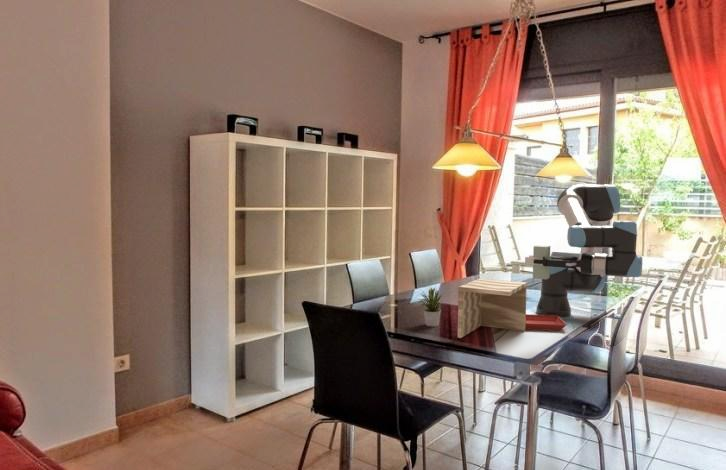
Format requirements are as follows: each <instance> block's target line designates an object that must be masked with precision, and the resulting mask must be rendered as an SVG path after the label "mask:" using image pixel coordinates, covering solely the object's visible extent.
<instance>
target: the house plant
mask: <svg viewBox="0 0 726 470" xmlns="http://www.w3.org/2000/svg"><path fill="white" fill-rule="evenodd" d="M418 295H420V296H423V299H419V298H418V300H420V301H418V303H421V307H423V306H424V307H425V309H423V313H424V314H423V315H424V321H425V322H424V323H425V326H427V327H438V326H439V322H440V317H441V309H439V308H440V307H443V305H441V302H443V300H441V301H440V299H441V297H442V296H444V293H442V294H441V295H439V290H437V289H436V287H434V288H432V287H431V286H430V288H429V289H428V296H427V295H426V293H425V291H423V290H422V289H420V293H419V294H418ZM418 303H417V304H418Z"/></svg>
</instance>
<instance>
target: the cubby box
mask: <svg viewBox="0 0 726 470" xmlns="http://www.w3.org/2000/svg"><path fill="white" fill-rule="evenodd" d="M527 283H528V282H525V281H512V280H500V279H491V278H490V279H488V278H478V279H475V280H472V281H470V282H467V283H465V284H463V285H459V286H458V291H457V292H458V293H457V296H458V298H457V303H458V304H457V338H459V339H462V338H464V337H465V336H467V335H468V334H470V333H471V332H473V331H475V330H476V329H478V328H480V327H489V328H495V329H496V328H497V329H503V330H511V331H519V332H526V330H527V329H526V314H527Z"/></svg>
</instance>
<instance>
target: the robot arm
mask: <svg viewBox="0 0 726 470" xmlns="http://www.w3.org/2000/svg"><path fill="white" fill-rule="evenodd" d="M556 206H557V209H558V211H559V213H560V214H562V215H563V216H564V218H565V220H566V223H567V226H568V229H567V235H566V237H567V238H566V239H567V244H568V246H570V247H574V248H579V249H580V253H579V257H577V256H557V255H556V256H555V255H554V256H553V255H550V259H545V257H543V258H537V257H533V254H532V255H531V254H530V255H528V256H524V265H532V266H533V265H543V266H545V267H546V266H549V267H550V277H549V278H548V279H540V281H541V282H540V297H539V300H538V302H537V304H536V313H537V314H538V315H556V316H559V317H569V316H571V315H572V309H571V305H570V301H569V298H568V292H578V293H580V292H581V293H598V292H600V291H602V290H603V288H604V286H605V283H606V276H610V277H622V278H639V277H641V276H642V273H643V257H642V256H641V255H639V254H638V255H637V239H638V238H637V237H638V227H637V226H638V225H637V223H636V222H635V221H634V220H614V221H613V222H612V225H608V223H609V221H611V220H612V219H613V217H614V214H618V213H620V211H621V196H620V191H619V189H618V187H617V186H616V185H614V184H574V185H571V186H569V187H566V188H565V189H564V190H563V191H562V192H560V194H559V196H558V197H557V201H556ZM604 248H605V249H607V248H610V249H611V254H610V253H609V254H608V253H603V249H604Z"/></svg>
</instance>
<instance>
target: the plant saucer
mask: <svg viewBox="0 0 726 470" xmlns="http://www.w3.org/2000/svg"><path fill="white" fill-rule="evenodd" d="M566 326H567V323H566V322H565V321H564V320H563V319H562V318H561V316H556V315H542V314H527V313H526V329H525V330H532V331H534V330H535V331H537V330H539V331H557V332H559V331H562V330H563V329H565V327H566Z"/></svg>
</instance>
